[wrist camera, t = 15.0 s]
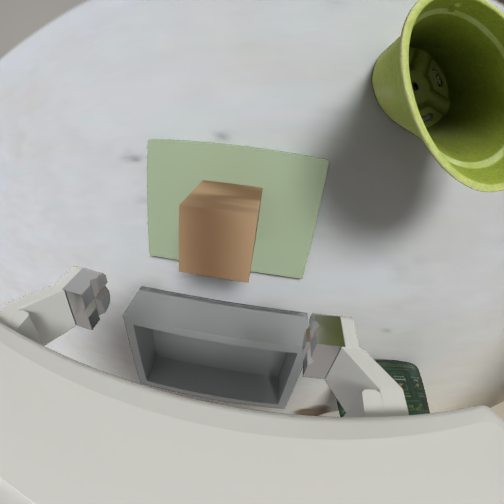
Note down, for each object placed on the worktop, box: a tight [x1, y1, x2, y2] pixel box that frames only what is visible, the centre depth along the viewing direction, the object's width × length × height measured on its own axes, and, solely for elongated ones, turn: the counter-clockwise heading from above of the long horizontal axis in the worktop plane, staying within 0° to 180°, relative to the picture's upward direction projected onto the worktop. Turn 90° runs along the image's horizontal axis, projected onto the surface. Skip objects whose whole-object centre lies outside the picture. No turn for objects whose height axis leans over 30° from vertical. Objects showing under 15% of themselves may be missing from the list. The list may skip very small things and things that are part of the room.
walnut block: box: [179, 180, 263, 282], centre depth 17 cm, size 4×4×5 cm
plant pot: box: [372, 0, 504, 192], centre depth 10 cm, size 9×9×9 cm
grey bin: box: [123, 286, 309, 409], centre depth 24 cm, size 15×10×4 cm, turn 83°
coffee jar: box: [337, 360, 430, 417], centre depth 20 cm, size 10×8×19 cm
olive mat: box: [147, 139, 329, 279], centre depth 20 cm, size 12×9×1 cm
